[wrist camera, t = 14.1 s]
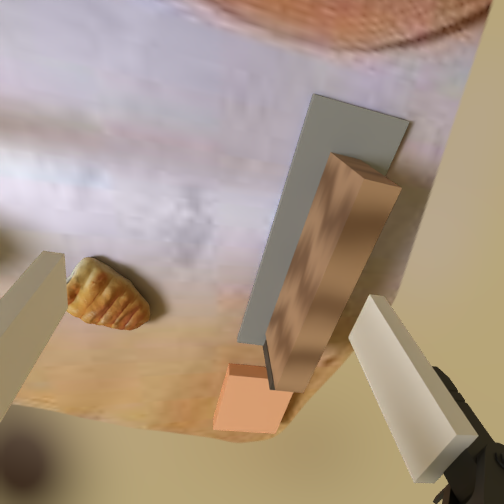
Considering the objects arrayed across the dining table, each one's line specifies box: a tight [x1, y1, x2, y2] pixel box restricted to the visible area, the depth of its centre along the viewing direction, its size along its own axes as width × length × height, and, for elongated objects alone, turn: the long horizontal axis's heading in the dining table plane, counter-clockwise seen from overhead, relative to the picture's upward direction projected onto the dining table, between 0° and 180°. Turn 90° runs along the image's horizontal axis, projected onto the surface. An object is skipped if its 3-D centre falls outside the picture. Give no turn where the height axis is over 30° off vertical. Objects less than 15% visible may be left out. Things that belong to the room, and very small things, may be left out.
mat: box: [237, 94, 409, 345], centre depth 35 cm, size 28×9×1 cm, turn 166°
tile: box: [213, 363, 293, 434], centre depth 46 cm, size 2×9×11 cm
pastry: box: [66, 257, 150, 330], centre depth 35 cm, size 9×7×4 cm
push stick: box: [263, 152, 402, 393], centre depth 32 cm, size 23×3×8 cm, turn 166°
